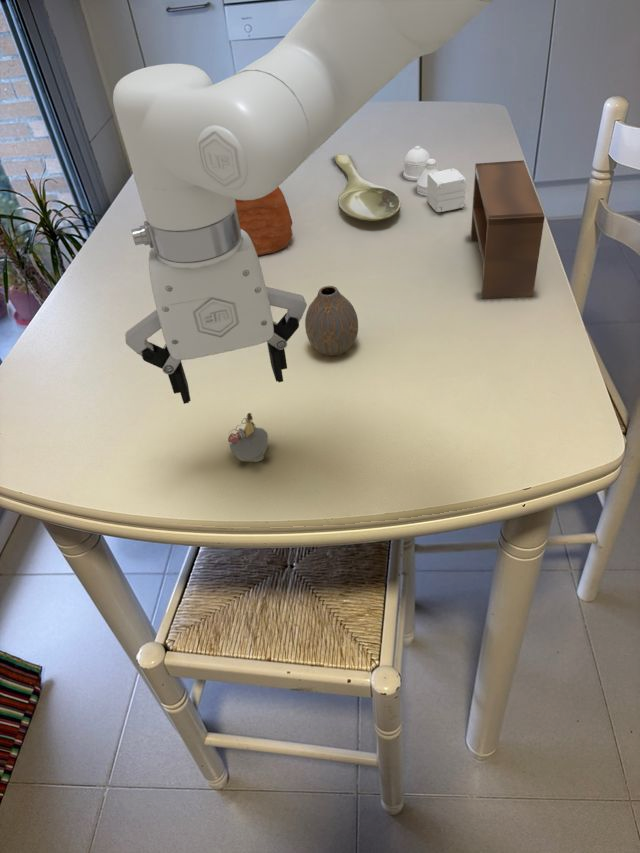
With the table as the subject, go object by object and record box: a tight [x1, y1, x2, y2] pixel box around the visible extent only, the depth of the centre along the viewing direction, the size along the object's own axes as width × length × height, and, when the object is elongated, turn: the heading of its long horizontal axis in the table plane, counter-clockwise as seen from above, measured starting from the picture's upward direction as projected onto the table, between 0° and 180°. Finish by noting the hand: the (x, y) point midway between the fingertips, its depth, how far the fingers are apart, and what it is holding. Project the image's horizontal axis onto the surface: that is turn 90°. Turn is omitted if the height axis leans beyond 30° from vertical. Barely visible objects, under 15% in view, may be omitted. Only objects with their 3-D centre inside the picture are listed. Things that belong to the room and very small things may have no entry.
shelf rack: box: [470, 160, 546, 299], centre depth 94 cm, size 7×18×12 cm, turn 176°
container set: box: [402, 145, 467, 213], centre depth 117 cm, size 20×5×6 cm, turn 13°
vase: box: [304, 285, 359, 357], centre depth 84 cm, size 7×7×9 cm
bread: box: [235, 185, 293, 257], centre depth 113 cm, size 16×27×11 cm, turn 14°
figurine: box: [227, 412, 269, 463], centre depth 72 cm, size 5×4×6 cm
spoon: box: [333, 153, 402, 222], centre depth 121 cm, size 35×11×2 cm, turn 10°
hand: (232, 384), depth 67 cm, fingers open, 9 cm apart
